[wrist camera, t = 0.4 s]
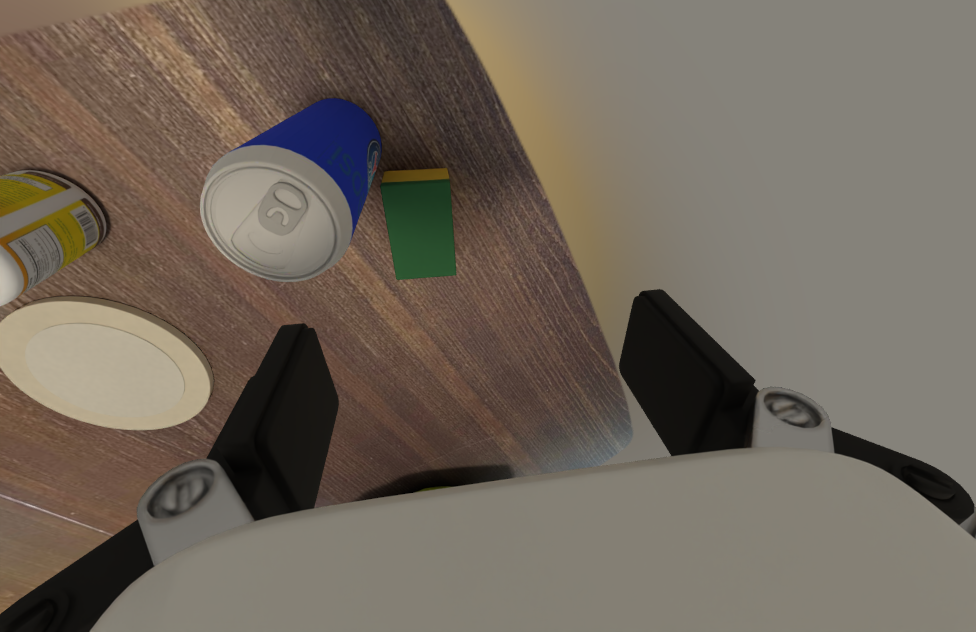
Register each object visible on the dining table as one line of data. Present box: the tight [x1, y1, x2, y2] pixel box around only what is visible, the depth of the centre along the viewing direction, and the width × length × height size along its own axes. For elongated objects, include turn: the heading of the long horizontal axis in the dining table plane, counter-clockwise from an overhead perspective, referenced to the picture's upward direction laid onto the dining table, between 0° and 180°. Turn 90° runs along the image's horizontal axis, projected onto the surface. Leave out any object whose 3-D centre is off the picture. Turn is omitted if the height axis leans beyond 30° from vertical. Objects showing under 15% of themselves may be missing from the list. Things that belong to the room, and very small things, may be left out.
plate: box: [0, 296, 214, 430], centre depth 33 cm, size 15×15×1 cm
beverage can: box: [200, 98, 382, 282], centre depth 20 cm, size 5×5×15 cm
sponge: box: [380, 168, 456, 280], centre depth 28 cm, size 7×4×4 cm, turn 1°
